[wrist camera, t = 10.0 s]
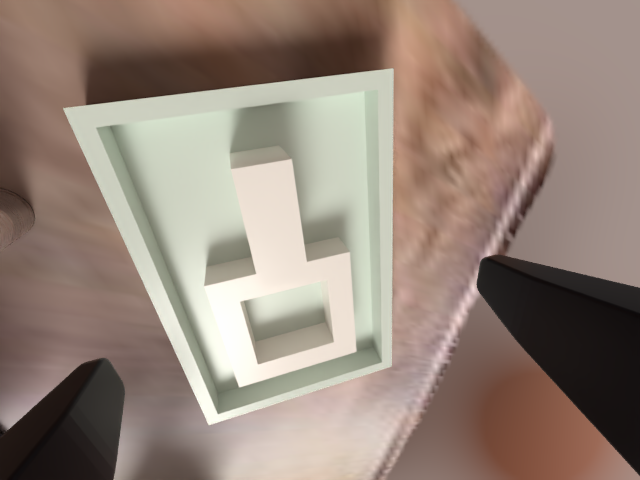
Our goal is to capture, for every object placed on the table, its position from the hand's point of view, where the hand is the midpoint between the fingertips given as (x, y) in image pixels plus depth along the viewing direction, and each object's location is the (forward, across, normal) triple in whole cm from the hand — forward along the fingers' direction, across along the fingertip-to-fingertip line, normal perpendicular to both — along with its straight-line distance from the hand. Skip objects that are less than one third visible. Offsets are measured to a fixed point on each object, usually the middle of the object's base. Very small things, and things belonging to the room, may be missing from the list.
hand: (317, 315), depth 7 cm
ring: (+11, 0, +5) cm, 12 cm away
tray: (+11, 0, +5) cm, 12 cm away
